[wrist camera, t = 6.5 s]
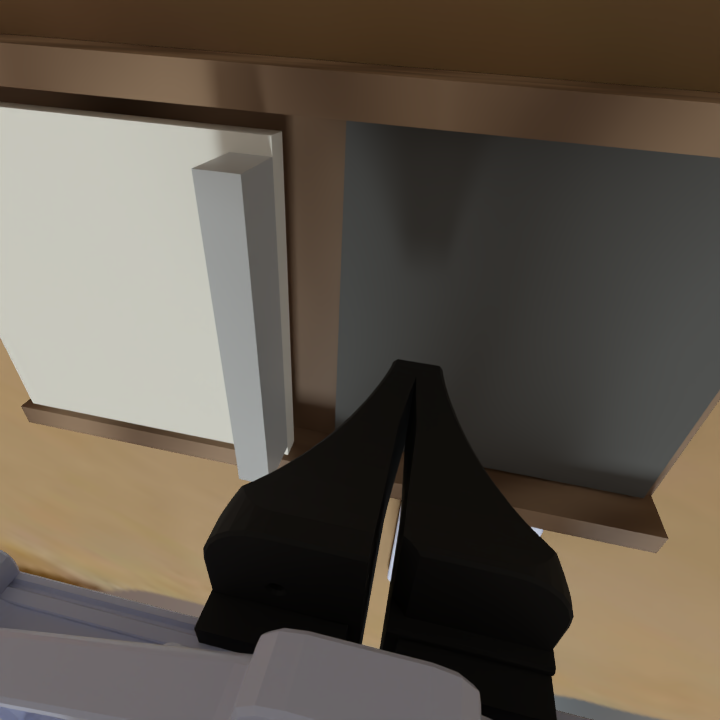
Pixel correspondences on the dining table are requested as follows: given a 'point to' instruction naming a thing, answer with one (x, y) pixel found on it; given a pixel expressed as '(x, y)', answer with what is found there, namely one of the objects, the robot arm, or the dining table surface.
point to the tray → (326, 190)
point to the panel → (536, 294)
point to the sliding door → (149, 274)
